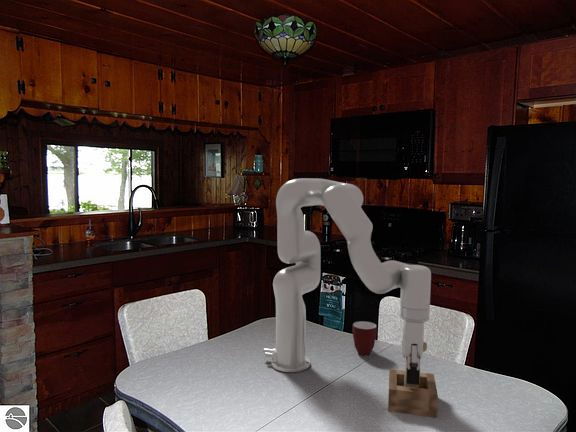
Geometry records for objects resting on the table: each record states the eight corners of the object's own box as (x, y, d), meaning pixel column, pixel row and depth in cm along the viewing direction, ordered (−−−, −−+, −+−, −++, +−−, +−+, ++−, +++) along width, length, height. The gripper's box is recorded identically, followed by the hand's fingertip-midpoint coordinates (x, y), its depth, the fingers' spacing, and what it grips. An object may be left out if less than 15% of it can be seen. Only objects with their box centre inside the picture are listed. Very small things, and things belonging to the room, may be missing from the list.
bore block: (388, 411, 114) (388, 388, 113) (388, 389, 125) (389, 369, 125) (436, 417, 111) (437, 394, 110) (432, 394, 123) (433, 374, 122)
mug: (348, 346, 157) (349, 318, 156) (371, 346, 157) (372, 318, 156) (354, 358, 146) (355, 329, 145) (378, 358, 147) (379, 329, 146)
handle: (423, 403, 115) (427, 348, 113) (398, 399, 117) (401, 344, 115) (423, 394, 120) (426, 341, 118) (398, 390, 121) (402, 338, 120)
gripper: (399, 302, 125) (397, 362, 127) (400, 321, 108) (397, 391, 110) (427, 304, 123) (424, 365, 125) (432, 324, 107) (429, 395, 108)
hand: (412, 377), depth 117 cm, fingers open, 6 cm apart
